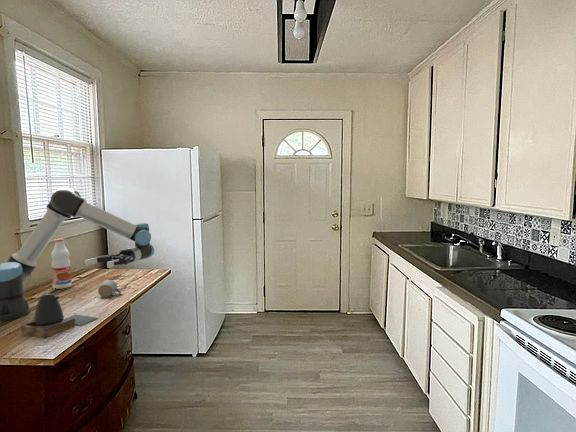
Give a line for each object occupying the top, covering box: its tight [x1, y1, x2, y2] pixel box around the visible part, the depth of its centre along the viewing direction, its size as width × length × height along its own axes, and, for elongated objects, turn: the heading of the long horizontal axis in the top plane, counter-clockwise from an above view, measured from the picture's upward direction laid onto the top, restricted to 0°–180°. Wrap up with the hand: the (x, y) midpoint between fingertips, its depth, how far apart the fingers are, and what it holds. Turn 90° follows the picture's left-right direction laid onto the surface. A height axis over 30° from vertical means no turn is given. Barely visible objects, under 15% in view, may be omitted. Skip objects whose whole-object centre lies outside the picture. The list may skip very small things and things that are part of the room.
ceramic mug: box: [97, 279, 122, 298], centre depth 200 cm, size 11×8×8 cm
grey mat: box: [63, 314, 98, 327], centre depth 164 cm, size 13×9×1 cm
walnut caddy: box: [20, 318, 76, 339], centre depth 153 cm, size 14×13×4 cm
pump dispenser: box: [33, 293, 65, 329], centre depth 153 cm, size 10×10×15 cm
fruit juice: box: [50, 238, 73, 290], centre depth 216 cm, size 9×9×28 cm
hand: (96, 264), depth 175 cm, fingers open, 13 cm apart
